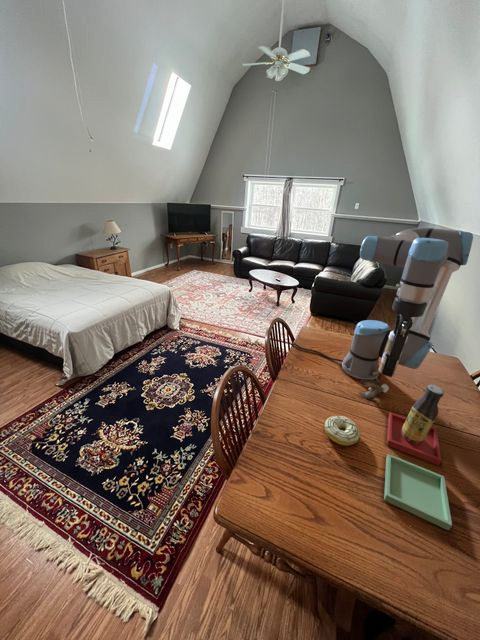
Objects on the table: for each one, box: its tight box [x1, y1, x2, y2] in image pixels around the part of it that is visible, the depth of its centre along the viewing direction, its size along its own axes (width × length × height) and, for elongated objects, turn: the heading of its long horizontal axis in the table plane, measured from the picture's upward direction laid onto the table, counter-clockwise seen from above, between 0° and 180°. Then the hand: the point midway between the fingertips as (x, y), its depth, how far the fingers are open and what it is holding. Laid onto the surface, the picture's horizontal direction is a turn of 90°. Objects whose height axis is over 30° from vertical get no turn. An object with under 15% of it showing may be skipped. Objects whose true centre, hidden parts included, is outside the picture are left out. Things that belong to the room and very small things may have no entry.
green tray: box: [383, 453, 453, 531], centre depth 70 cm, size 14×14×2 cm
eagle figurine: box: [359, 377, 390, 400], centre depth 103 cm, size 8×7×9 cm
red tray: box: [386, 412, 442, 466], centre depth 85 cm, size 14×14×2 cm
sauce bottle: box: [401, 384, 445, 444], centre depth 81 cm, size 6×6×20 cm
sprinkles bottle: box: [378, 330, 408, 377], centre depth 79 cm, size 5×5×14 cm
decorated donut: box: [323, 415, 361, 447], centre depth 85 cm, size 10×11×4 cm
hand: (386, 370), depth 81 cm, fingers closed on sprinkles bottle, 4 cm apart
